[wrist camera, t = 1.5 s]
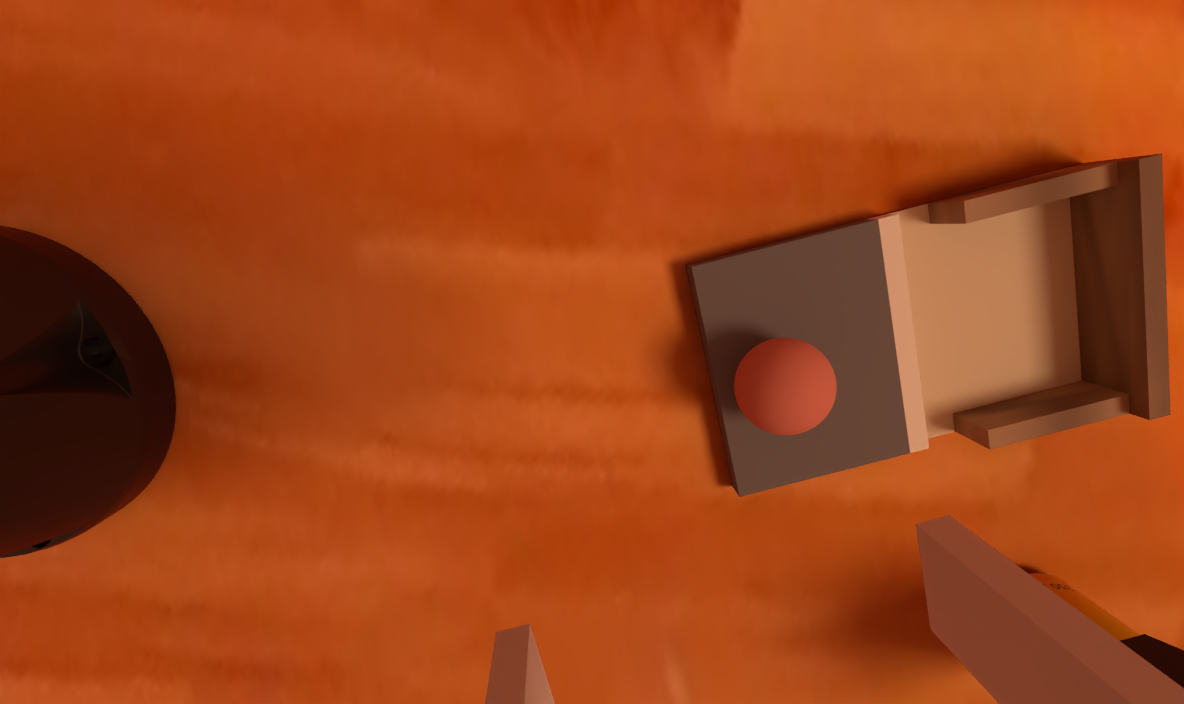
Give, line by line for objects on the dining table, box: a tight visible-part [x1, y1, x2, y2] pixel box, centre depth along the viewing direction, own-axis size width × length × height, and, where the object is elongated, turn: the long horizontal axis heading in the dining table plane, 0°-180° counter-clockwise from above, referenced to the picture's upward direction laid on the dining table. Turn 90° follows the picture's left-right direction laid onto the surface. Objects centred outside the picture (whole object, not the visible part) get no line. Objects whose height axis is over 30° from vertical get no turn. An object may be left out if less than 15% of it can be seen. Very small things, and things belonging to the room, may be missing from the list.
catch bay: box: [925, 154, 1170, 449], centre depth 28 cm, size 8×12×4 cm, turn 14°
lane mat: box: [686, 197, 1082, 497], centre depth 29 cm, size 20×12×1 cm, turn 104°
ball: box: [734, 338, 837, 435], centre depth 27 cm, size 4×4×4 cm
